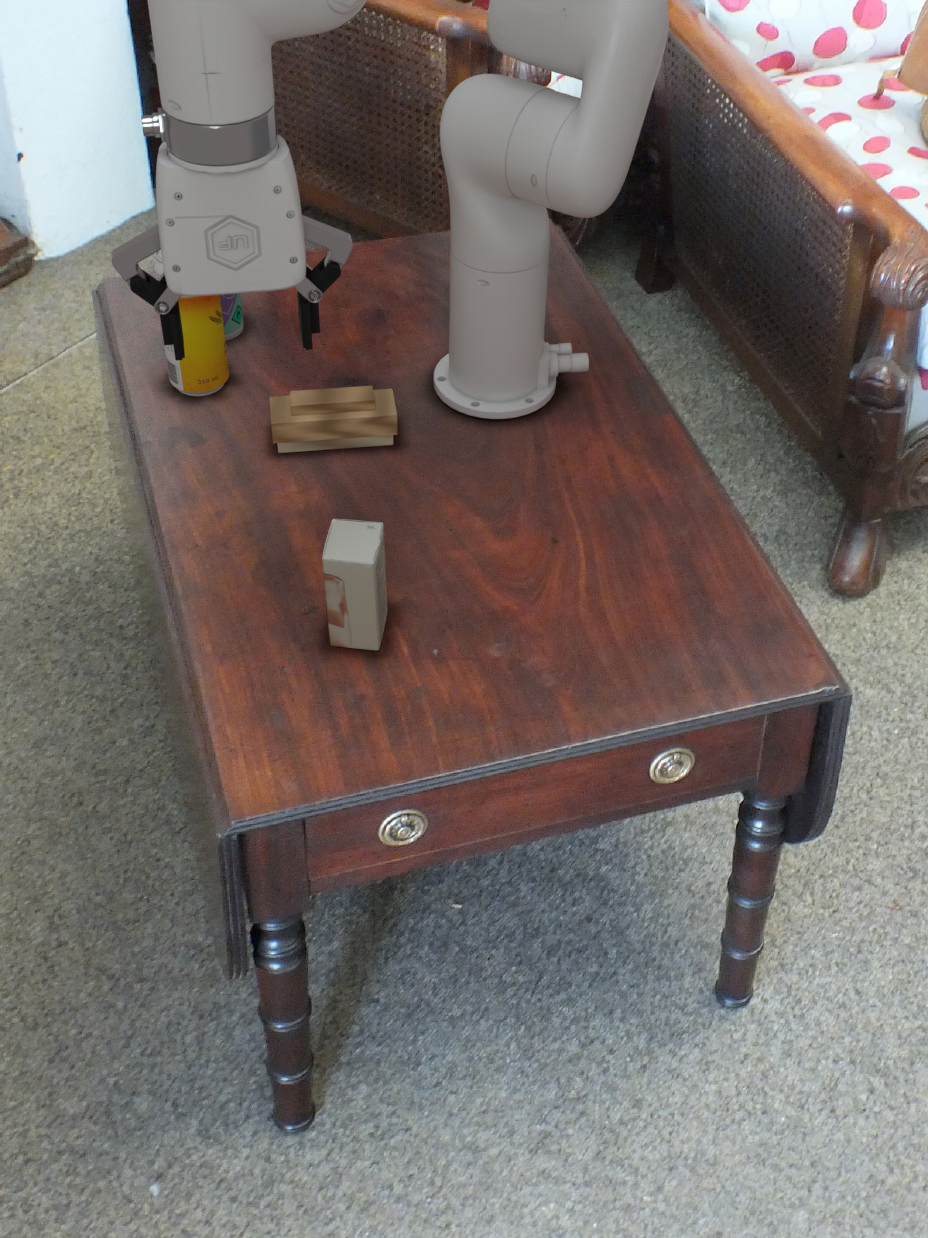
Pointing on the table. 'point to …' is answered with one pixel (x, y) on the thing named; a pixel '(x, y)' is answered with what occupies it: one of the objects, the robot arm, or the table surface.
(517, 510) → the table surface
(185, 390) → the beer can
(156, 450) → the table surface
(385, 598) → the white box
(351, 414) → the tan rectangular block
